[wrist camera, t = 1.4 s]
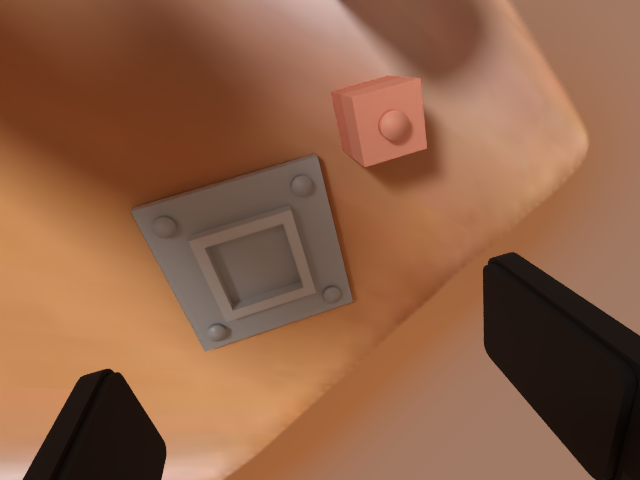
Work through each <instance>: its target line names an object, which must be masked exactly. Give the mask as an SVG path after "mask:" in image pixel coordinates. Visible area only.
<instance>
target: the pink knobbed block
mask: <svg viewBox="0 0 640 480" xmlns="http://www.w3.org/2000/svg"><path fill="white" fill-rule="evenodd" d="M331 94H332V99H333V104H334V109H335V114H336V118H337V123H338V128H339V133H340V138H341V142H342V147H343V151H344V152H345V153H347V154H348V155H349V156H351V157H352V158H353V159H354V160H356V161H357V162H358V163H360V164H361V165H362V166H364V167H368V166H371V165H374V164H378V163H381V162H384V161H387V160H391V159H394V158H397V157H401V156H404V155H407V154H410V153H414V152H417V151H420V150H424V149H427V142H426V131H425V121H424V111H423V100H422V90H421V80H420V78H415V77H399V76H385V77H382V78H378V79H375V80H371V81H368V82H364V83H361V84H357V85H354V86H350V87H347V88H343V89H339V90H336V91H332V92H331Z"/></svg>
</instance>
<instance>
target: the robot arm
mask: <svg viewBox="0 0 640 480" xmlns="http://www.w3.org/2000/svg"><path fill="white" fill-rule="evenodd" d="M483 298H484V299H483V300H484V301H483V304H484V346H485V349H486V352H487V354H488V355H489V357H490V358H491V359H492V361H493V362H494V363H495V364H496V365H497V366H498V368H499V369H500V370H501V371H502V372H503V374H504V375H505V376H506V377H507V378H508V379H509V381H510V382H511V383H512V384H513V385H514V386H515V388H516V389H517V390H518V391H519V392H520V393H521V395H522V396H523V397H524V398H525V399H526V400H527V402H528V403H529V404H530V405H531V406H532V408H533V409H534V410H535V411H536V412H537V413H538V415H539V416H540V417H541V418H542V419H543V420H544V422H545V423H546V424H547V425H548V426H549V427H550V429H551V430H552V431H553V432H554V433H555V434H556V436H557V437H558V438H559V439H560V440H561V442H562V443H563V444H564V445H565V446H566V447H567V449H568V450H569V451H570V452H571V453H572V455H573V456H574V457H575V458H576V459H577V460H578V462H579V463H580V464H581V465H582V466H583V467H584V469H585V470H586V471H587V472H588V473H589V474H590V475H591V476H592V477H593V478H594V479H596V480H640V336H639V335H638V334H636V333H635V332H633V331H632V330H630V329H629V328H627V327H626V326H624V325H623V324H621V323H620V322H618V321H617V320H615V319H614V318H612V317H611V316H609V315H608V314H606V313H605V312H603V311H602V310H600V309H599V308H597V307H596V306H594V305H593V304H591V303H590V302H588V301H587V300H585V299H584V298H582V297H581V296H579V295H578V294H576V293H575V292H573V291H572V290H570V289H569V288H567V287H566V286H564V285H563V284H561V283H560V282H558V281H557V280H555V279H554V278H552V277H551V276H550V275H548V274H546V273H545V272H543V271H542V270H541V269H539V268H538V267H536V266H535V265H533V264H531V263H530V262H529V261H527V260H526V259H524V258H523V257H521V256H520V255H518V254H516V253H514V252H511V253H507V254H503V255H500V256H497V257H493V258H491V259H489V261H488V265H486V266H485V267H484V269H483ZM165 460H166V445H165V442H164V440H163V439H162V437H161V436H160V434H159V432H158V431H157V429H156V428H155V426H154V424H153V423H152V421H151V420H150V418H149V417H148V415H147V413H146V412H145V410H144V409H143V407H142V406H141V404H140V402H139V401H138V399H137V398H136V396H135V395H134V393H133V391H132V390H131V388H130V387H129V385H128V384H127V382H126V380H125V379H124V377H123V376H122V375H121V374H120V373H119V372H116V373H114V372H113V371H112V370H111V369H104V370H101V371H97V372H94V373H90V374H87V375H84V376H82V377H80V379H79V380H78V381H77V383H76V385H75V387H74V388H73V390H72V392H71V394H70V396H69V397H68V399H67V401H66V403H65V405H64V406H63V408H62V410H61V412H60V414H59V415H58V417H57V419H56V421H55V423H54V424H53V426H52V428H51V430H50V431H49V433H48V435H47V437H46V439H45V440H44V442H43V444H42V446H41V448H40V449H39V451H38V453H37V455H36V457H35V458H34V460H33V462H32V464H31V466H30V467H29V469H28V471H27V473H26V474H25V476H24V478H23V480H161V478H162V474H163V469H164V464H165Z"/></svg>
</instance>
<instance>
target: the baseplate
mask: <svg viewBox="0 0 640 480" xmlns="http://www.w3.org/2000/svg"><path fill="white" fill-rule="evenodd" d="M131 214H132V215H133V217H134V219H135V221H136V223H137V225H138V227H139V229H140V230H141V232H142V234H143V236H144V238H145V240H146V242H147V244H148V245H149V247H150V249H151V251H152V253H153V255H154V257H155V259H156V260H157V262H158V264H159V266H160V268H161V270H162V272H163V274H164V275H165V277H166V279H167V281H168V283H169V285H170V287H171V288H172V290H173V292H174V294H175V296H176V298H177V300H178V302H179V303H180V305H181V307H182V309H183V311H184V313H185V315H186V317H187V318H188V320H189V322H190V324H191V326H192V328H193V330H194V332H195V333H196V335H197V337H198V339H199V341H200V343H201V345H202V347H203V348H204V350H205V351H208V350H211V349H214V348H217V347H220V346H223V345H226V344H229V343H232V342H235V341H238V340H241V339H244V338H247V337H250V336H253V335H256V334H259V333H262V332H265V331H268V330H271V329H274V328H277V327H280V326H283V325H286V324H289V323H292V322H295V321H298V320H301V319H304V318H307V317H310V316H313V315H316V314H319V313H322V312H325V311H328V310H331V309H334V308H337V307H340V306H342V305H345V304H348V303H351V302H353V299H352V295H351V291H350V287H349V283H348V279H347V275H346V271H345V267H344V262H343V258H342V254H341V250H340V246H339V242H338V238H337V234H336V230H335V226H334V221H333V217H332V213H331V209H330V205H329V201H328V197H327V193H326V189H325V185H324V180H323V176H322V172H321V168H320V164H319V160H318V156H317V155H316V154H312V155H308V156H305V157H302V158H298V159H295V160H292V161H288V162H285V163H281V164H278V165H275V166H271V167H268V168H265V169H261V170H258V171H255V172H251V173H248V174H244V175H241V176H238V177H234V178H231V179H228V180H224V181H221V182H217V183H214V184H211V185H207V186H204V187H201V188H197V189H194V190H191V191H187V192H184V193H180V194H177V195H174V196H170V197H167V198H164V199H160V200H157V201H153V202H150V203H147V204H143V205H140V206H137V207H133V209H132V210H131Z"/></svg>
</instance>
